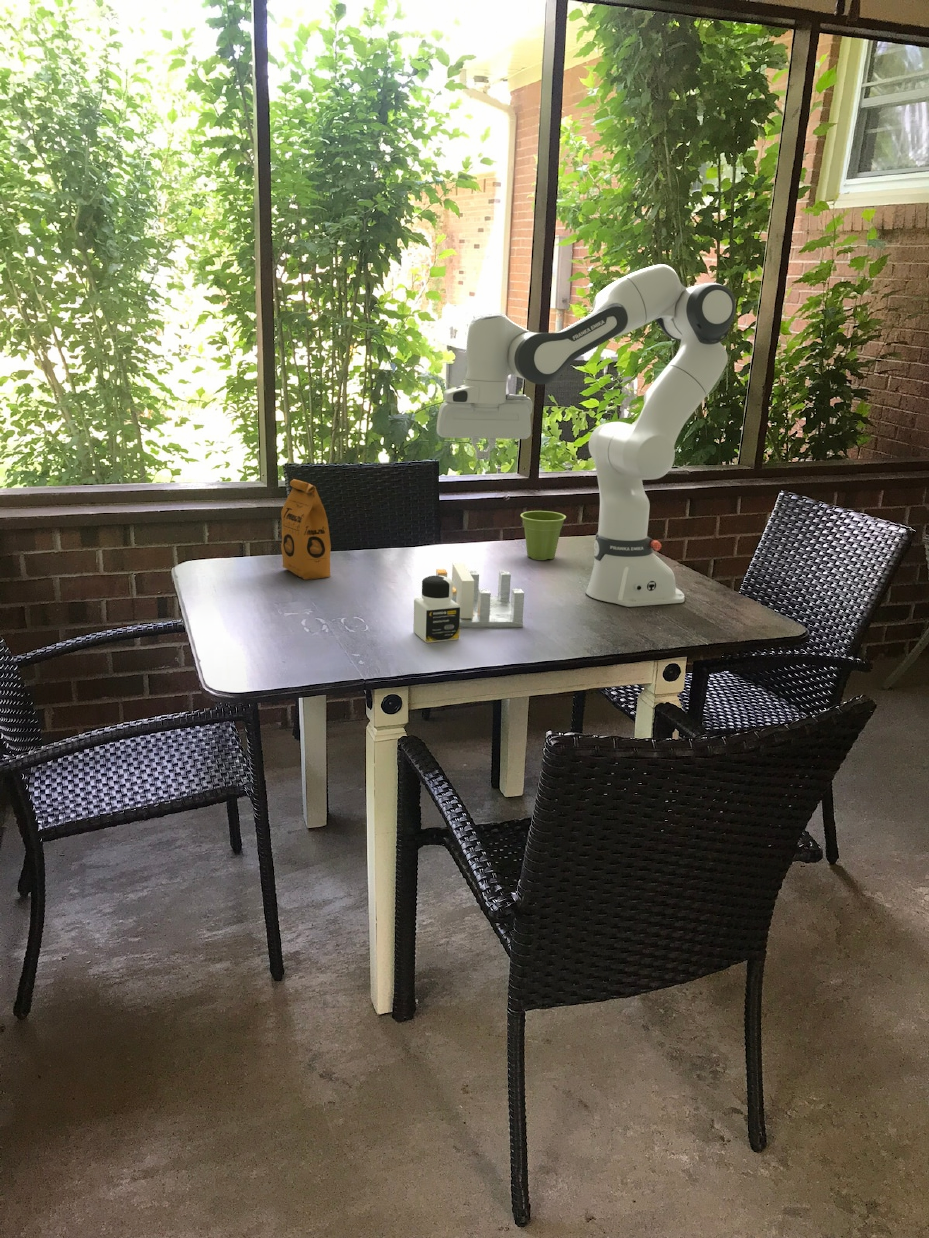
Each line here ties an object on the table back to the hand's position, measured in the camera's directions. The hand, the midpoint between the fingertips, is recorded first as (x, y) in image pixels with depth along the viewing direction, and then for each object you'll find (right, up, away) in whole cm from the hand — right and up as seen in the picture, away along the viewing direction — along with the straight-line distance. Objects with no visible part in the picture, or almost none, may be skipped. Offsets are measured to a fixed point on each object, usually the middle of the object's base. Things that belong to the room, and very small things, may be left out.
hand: (482, 459), depth 209 cm
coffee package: (-42, -24, +23) cm, 53 cm away
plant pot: (+16, -19, +46) cm, 52 cm away
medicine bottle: (-10, -38, -17) cm, 43 cm away
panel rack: (-1, -34, -3) cm, 34 cm away
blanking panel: (-4, -32, -4) cm, 33 cm away
